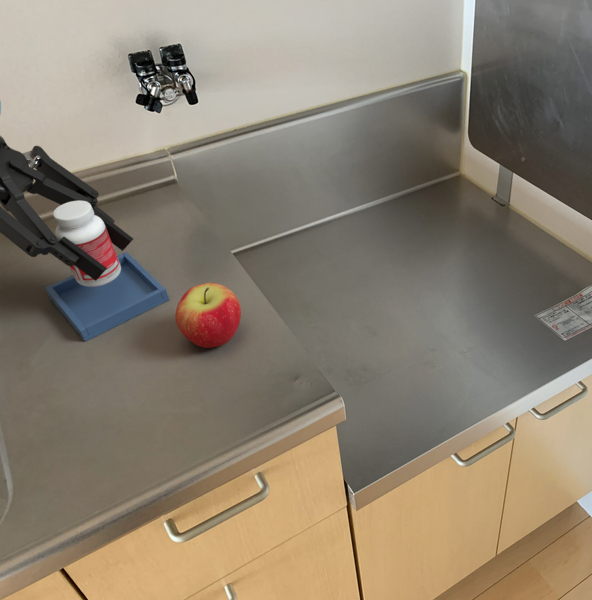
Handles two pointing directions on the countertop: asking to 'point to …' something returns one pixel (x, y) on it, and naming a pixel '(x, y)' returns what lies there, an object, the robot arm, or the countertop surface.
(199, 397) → the countertop surface
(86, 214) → the pill bottle
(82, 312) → the medicine tray
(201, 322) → the apple
